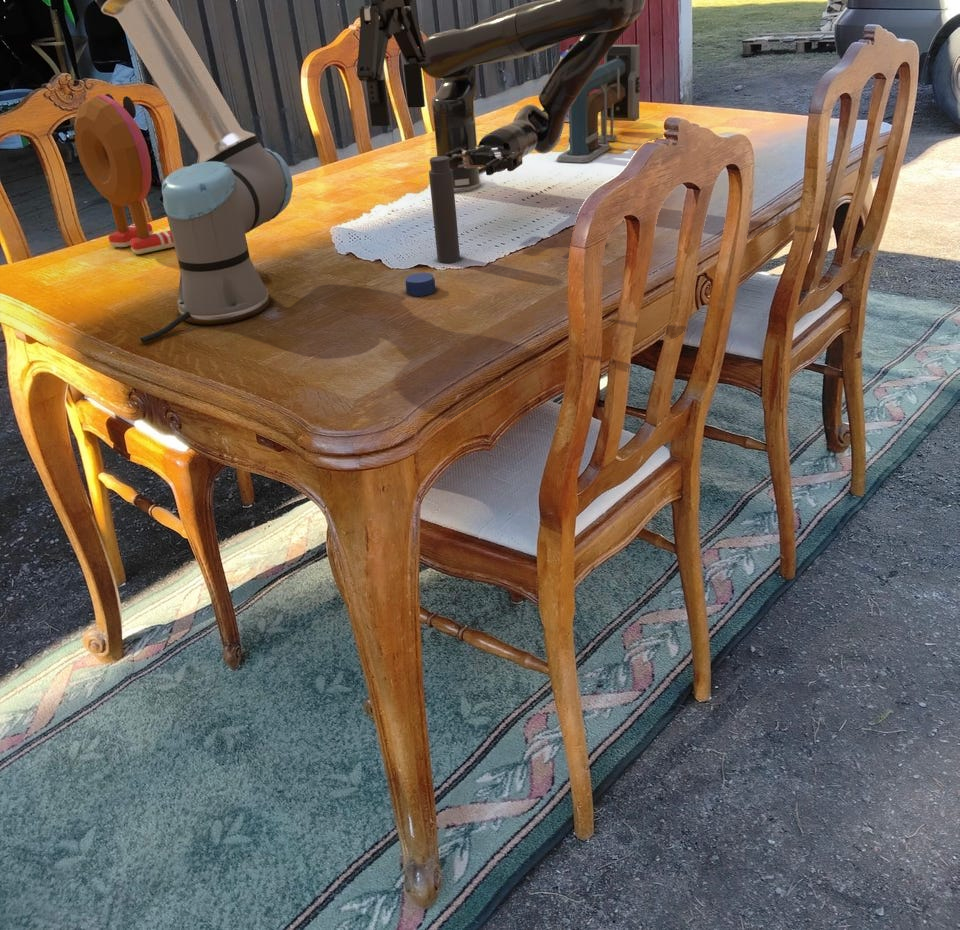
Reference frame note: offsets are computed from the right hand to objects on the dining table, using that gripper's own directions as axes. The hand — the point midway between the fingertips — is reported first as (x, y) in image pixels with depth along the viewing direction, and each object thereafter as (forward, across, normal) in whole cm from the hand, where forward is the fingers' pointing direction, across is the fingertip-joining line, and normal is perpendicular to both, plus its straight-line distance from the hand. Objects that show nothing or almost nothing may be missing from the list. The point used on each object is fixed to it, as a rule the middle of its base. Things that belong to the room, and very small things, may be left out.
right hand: (467, 168), depth 181 cm
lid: (+27, +4, +12) cm, 30 cm away
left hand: (+27, +3, -15) cm, 31 cm away
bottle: (+11, +1, +14) cm, 18 cm away
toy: (+19, -68, +15) cm, 72 cm away
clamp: (-78, -3, +14) cm, 80 cm away
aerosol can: (-107, -21, +15) cm, 110 cm away
